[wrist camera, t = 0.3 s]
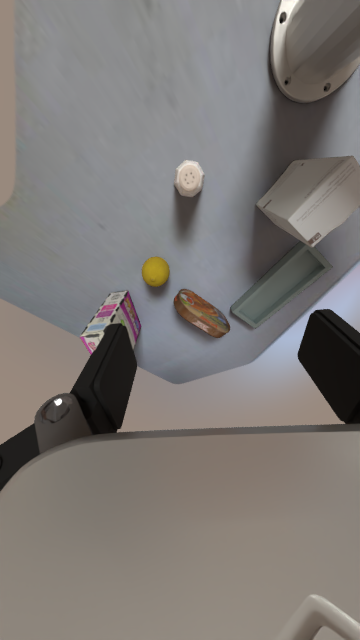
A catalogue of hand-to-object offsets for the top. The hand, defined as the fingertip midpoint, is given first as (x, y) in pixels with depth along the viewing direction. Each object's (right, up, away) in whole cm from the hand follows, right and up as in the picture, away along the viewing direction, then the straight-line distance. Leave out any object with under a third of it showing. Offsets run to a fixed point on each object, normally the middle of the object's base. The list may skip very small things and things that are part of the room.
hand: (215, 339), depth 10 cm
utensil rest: (+20, +9, +35) cm, 41 cm away
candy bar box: (-16, +4, +40) cm, 43 cm away
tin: (+3, +5, +38) cm, 39 cm away
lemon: (-7, +13, +33) cm, 36 cm away
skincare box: (+17, +23, +25) cm, 38 cm away
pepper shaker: (0, +26, +24) cm, 35 cm away
